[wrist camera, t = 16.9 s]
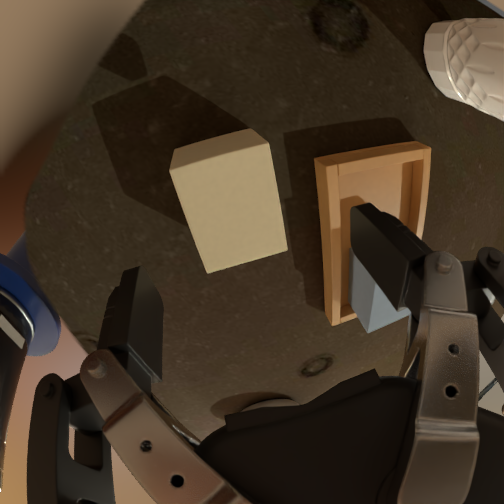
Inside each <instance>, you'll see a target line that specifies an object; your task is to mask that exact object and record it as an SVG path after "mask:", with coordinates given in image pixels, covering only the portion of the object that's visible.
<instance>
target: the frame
mask: <svg viewBox="0 0 504 504" xmlns="http://www.w3.org/2000/svg"><path fill="white" fill-rule="evenodd" d="M430 161H431V148H430V147H428V146H426V145H424V144H421V143H419V142H417V141H411V142H403V143H396V144H389V145H383V146H376V147H370V148H364V149H359V150H353V151H348V152H342V153H337V154H332V155H327V156H322V157H317V158H314V164H315V173H316V182H317V191H318V202H319V213H320V225H321V238H322V254H323V272H324V297H325V314H326V316H327V318H328V320H329V321H330V323H331V325H332V326H334V325H337V324H340V323H343V322H345V321H348V320H351V319H353V318H356V317H357V315H356V313H355V312H354V310H353V309H352V307H351V305H350V304H349V302H348V285H349V248H351V243H350V209H351V207H353V206H357V205H360V204H364V203H368V202H370V203H372V204H373V205H374V206H375V207H376V208H378V209H379V210H380V211H381V212H386V213H389V214H391V215H393V216H395V217H397V218H398V219H399V220H400V221H401V222H402V223H403V224H404V226H405V225H406V226H407V227H408V228H409V229H410V231H412V232H413V233H414V234H416V235H417V236H418V237H419V238H420V239H422V234H423V227H424V221H425V214H426V206H427V197H428V188H429V176H430Z"/></svg>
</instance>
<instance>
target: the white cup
mask: <svg viewBox="0 0 504 504" xmlns="http://www.w3.org/2000/svg"><path fill="white" fill-rule="evenodd" d="M423 51H424V56H425V61H426V66H427V70H428V72H429V74H430V76H431V78H432V80H433V82H434V84H435V86H436V87H437V88H438V89H439V90H440V91H441V92H442V93H443V94H444V95H445V96H446V97H449V98H452V99H455V100H458V101H461V102H464V103H466V104H469V105H471V106H473V107H475V108H476V109H478V110H481V111H483V112H485V113H487V114H489V115H491V116H494V117H496V118H498V119H500V120H502V121H504V19H498V18H491V19H487V18H475V19H461V20H448V21H440V22H436V23H432V25H431V26H430V28H429V29H428V31H427V32H426V34H425V41H424V50H423Z"/></svg>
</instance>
